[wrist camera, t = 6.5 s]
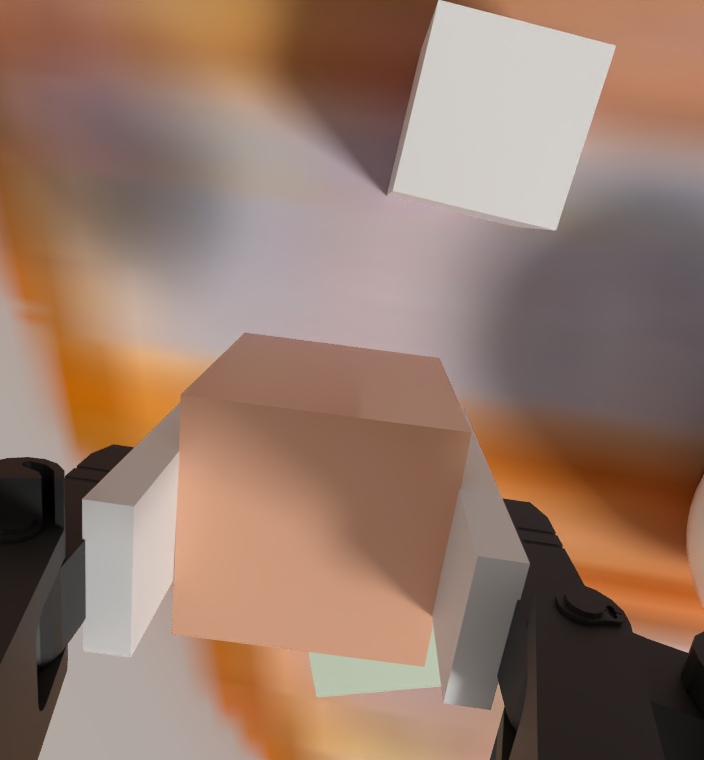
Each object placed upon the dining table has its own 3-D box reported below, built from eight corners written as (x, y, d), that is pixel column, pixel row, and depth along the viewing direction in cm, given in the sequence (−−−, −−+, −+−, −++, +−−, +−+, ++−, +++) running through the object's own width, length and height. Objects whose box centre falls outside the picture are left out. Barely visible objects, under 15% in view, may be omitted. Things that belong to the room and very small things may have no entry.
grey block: (420, 50, 20) (438, -1, 15) (555, 85, 20) (616, 45, 15) (386, 195, 21) (392, 190, 17) (513, 226, 22) (556, 230, 17)
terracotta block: (244, 332, 14) (180, 394, 10) (439, 358, 14) (471, 432, 10) (232, 505, 16) (171, 634, 11) (408, 529, 16) (424, 667, 11)
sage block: (308, 516, 25) (296, 587, 20) (420, 504, 25) (433, 574, 20) (324, 610, 27) (316, 697, 22) (430, 600, 26) (445, 685, 22)
